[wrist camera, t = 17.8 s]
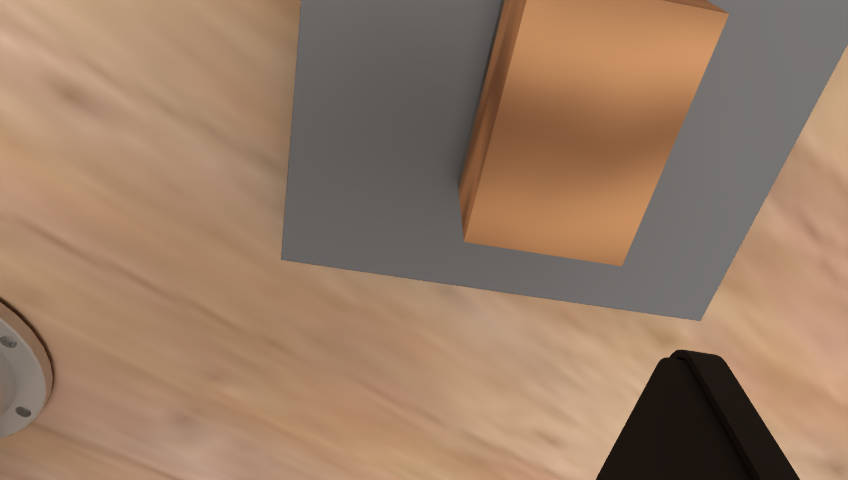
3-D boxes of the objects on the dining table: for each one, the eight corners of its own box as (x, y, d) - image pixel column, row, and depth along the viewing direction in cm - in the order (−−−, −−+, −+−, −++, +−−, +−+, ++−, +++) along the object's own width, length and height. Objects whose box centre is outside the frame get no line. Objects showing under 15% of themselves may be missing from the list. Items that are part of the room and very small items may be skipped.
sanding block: (593, 205, 30) (621, 266, 26) (457, 182, 29) (464, 242, 25) (676, -18, 25) (729, 13, 21) (513, -51, 24) (533, -26, 20)
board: (690, 303, 35) (700, 321, 34) (286, 243, 33) (280, 260, 32) (928, -163, 24) (959, -163, 22) (331, -304, 21) (325, -313, 20)
